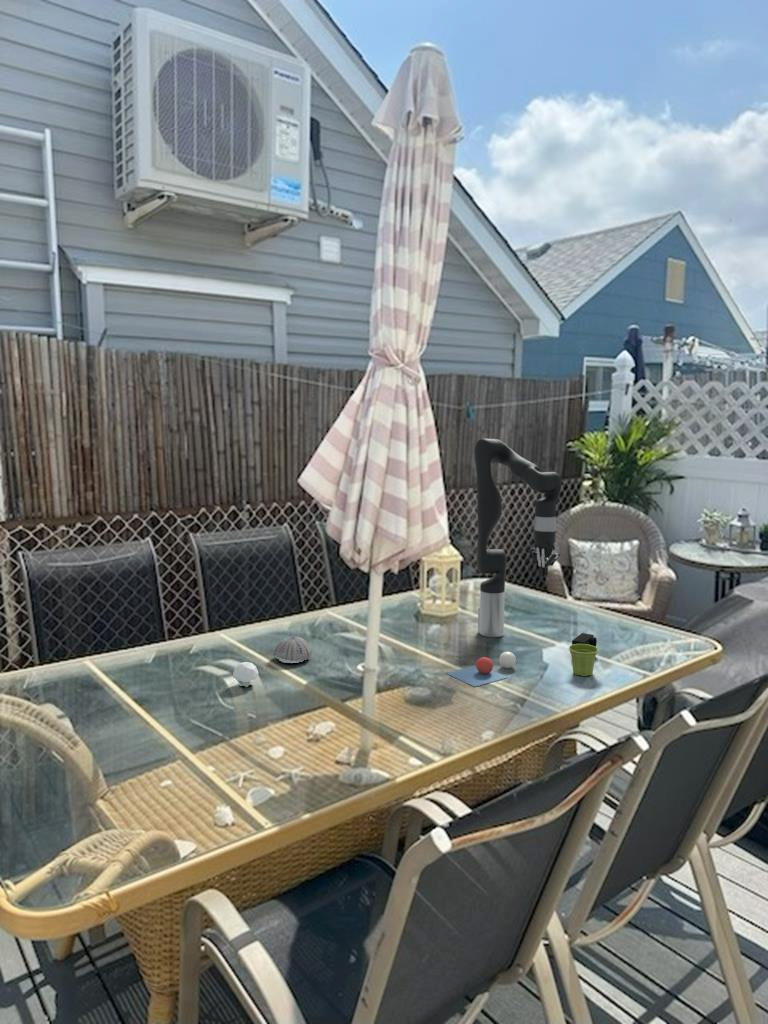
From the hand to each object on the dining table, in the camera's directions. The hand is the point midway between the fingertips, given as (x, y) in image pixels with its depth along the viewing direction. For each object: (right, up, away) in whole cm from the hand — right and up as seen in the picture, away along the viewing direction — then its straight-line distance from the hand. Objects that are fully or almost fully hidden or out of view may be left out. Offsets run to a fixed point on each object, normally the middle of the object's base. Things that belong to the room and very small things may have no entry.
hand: (543, 576), depth 254 cm
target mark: (-26, -30, -21) cm, 45 cm away
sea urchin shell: (-88, -29, -6) cm, 93 cm away
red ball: (-24, -27, -20) cm, 41 cm away
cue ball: (-15, -27, -14) cm, 34 cm away
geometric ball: (-100, -32, -29) cm, 109 cm away
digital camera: (+14, -28, -3) cm, 31 cm away
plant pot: (+8, -30, -19) cm, 37 cm away
